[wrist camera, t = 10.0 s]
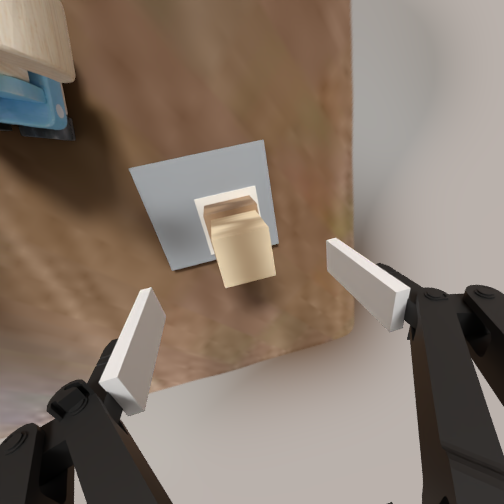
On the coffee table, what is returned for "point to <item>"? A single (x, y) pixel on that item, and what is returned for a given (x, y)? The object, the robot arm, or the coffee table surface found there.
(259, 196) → the pad
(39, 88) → the toy excavator
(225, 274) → the maple block
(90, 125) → the coffee table surface
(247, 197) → the walnut block
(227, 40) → the coffee table surface
